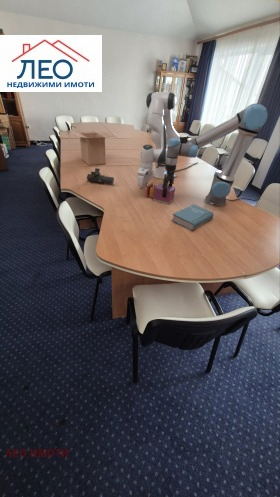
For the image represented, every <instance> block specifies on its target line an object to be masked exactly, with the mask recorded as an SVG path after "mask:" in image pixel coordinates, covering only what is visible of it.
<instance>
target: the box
mask: <svg viewBox="0 0 280 497" xmlns="http://www.w3.org/2000/svg"><path fill="white" fill-rule="evenodd" d="M70 133H71V134H72V135H74V136H75V137H77V138H79V144H80V153H81V160H83V162H85V163H86V165H87V166H95V165H97V166H98V165H106V163H107V162H106V158H107V157H106V138H113V137H114V136H113V135H111V134H109V133H108V132H105V131H98V132H96V131H95V130H92V129H91V130H77V132H76V131H70Z"/></svg>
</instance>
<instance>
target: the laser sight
mask: <svg viewBox="0 0 280 497" xmlns="http://www.w3.org/2000/svg"><path fill="white" fill-rule="evenodd" d="M100 170H101V168H94V171H90V173H87V175H86V180H87V182H90V183H96V184H102V185H104V184H108V185H114V181H115V178H114V176H108V175H107V176H106V175H104V174H101V172H100Z"/></svg>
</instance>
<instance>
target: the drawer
mask: <svg viewBox="0 0 280 497" xmlns="http://www.w3.org/2000/svg"><path fill="white" fill-rule="evenodd" d="M157 185H158V184H154V183H150V184H148V185H147V187H146V188H145V189H144V188H143V186H140V187H139V190H140V191H142V190H143V191H146V193H145V197H146V198H152V199H153V196H154V188H155V187H156V186H157Z"/></svg>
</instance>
